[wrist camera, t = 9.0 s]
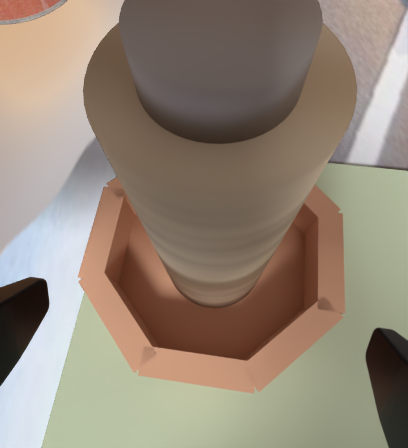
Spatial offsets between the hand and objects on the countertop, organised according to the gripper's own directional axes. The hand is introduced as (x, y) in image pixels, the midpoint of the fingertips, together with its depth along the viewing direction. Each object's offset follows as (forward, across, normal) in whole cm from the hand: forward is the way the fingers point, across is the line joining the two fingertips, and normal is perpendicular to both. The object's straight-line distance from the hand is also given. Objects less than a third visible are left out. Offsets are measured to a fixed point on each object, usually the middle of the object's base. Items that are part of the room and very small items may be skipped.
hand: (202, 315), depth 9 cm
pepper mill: (+9, 0, +3) cm, 9 cm away
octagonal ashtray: (+9, 0, +3) cm, 10 cm away
